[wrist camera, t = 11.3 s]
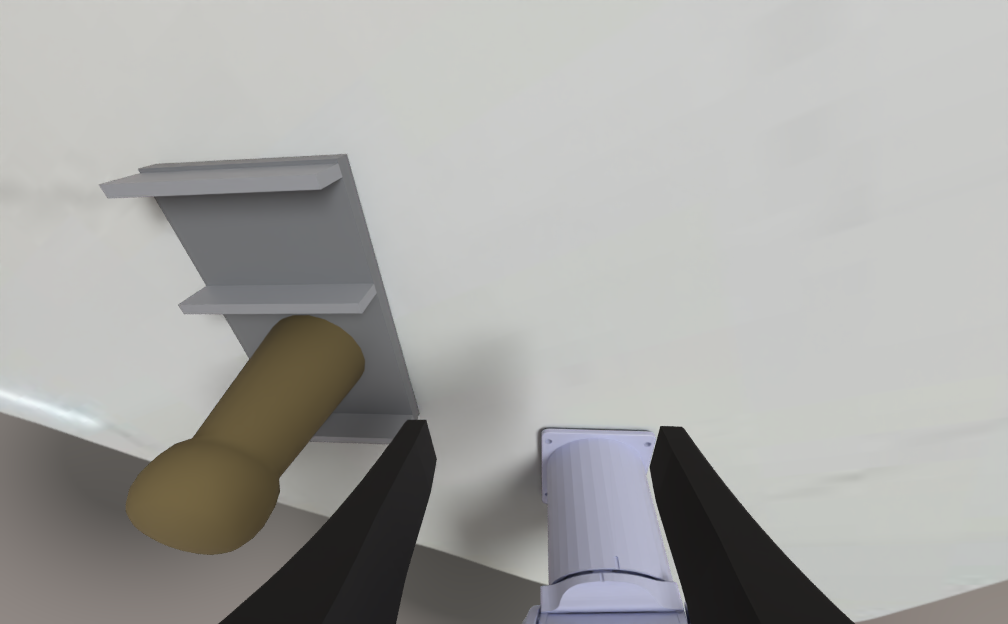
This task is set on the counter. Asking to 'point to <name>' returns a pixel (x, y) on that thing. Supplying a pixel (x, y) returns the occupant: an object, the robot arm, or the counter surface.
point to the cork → (247, 440)
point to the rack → (287, 267)
